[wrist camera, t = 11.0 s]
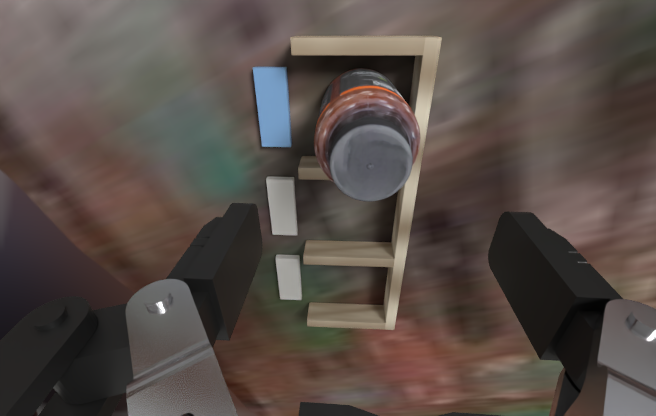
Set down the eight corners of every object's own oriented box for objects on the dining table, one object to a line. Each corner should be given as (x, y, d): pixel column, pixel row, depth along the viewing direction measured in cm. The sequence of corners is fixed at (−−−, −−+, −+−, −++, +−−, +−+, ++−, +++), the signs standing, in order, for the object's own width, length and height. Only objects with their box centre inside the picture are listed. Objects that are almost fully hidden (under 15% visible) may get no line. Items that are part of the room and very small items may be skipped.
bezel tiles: (254, 66, 23) (252, 67, 23) (286, 66, 23) (285, 67, 23) (281, 295, 36) (280, 299, 35) (302, 295, 36) (301, 300, 35)
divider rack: (296, 36, 22) (290, 37, 20) (432, 35, 22) (441, 37, 19) (309, 308, 37) (307, 326, 34) (391, 311, 36) (394, 329, 34)
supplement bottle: (330, 150, 26) (322, 227, 17) (313, 76, 23) (290, 118, 14) (402, 136, 25) (436, 209, 16) (393, 57, 22) (430, 87, 13)
